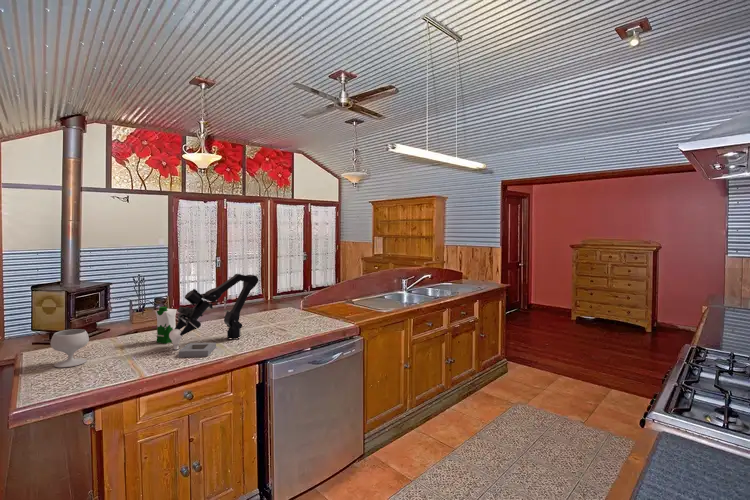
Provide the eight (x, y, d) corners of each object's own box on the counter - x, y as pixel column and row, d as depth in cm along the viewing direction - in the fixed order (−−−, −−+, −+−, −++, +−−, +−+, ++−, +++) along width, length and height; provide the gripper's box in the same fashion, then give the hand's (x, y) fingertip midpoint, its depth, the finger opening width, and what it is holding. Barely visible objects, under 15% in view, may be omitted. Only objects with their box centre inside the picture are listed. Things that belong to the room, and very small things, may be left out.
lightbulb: (172, 347, 205) (172, 327, 204) (184, 347, 205) (184, 327, 205) (167, 351, 198) (166, 330, 198) (179, 351, 199) (179, 330, 198)
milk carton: (153, 342, 213) (153, 307, 212) (167, 338, 222) (167, 304, 221) (166, 344, 211) (165, 308, 210) (179, 340, 219) (178, 305, 218)
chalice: (69, 370, 171) (68, 337, 170) (43, 368, 173) (41, 335, 173) (96, 359, 185) (96, 329, 184) (72, 358, 187) (71, 327, 186)
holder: (216, 348, 205) (216, 342, 205) (208, 356, 191) (208, 350, 191) (188, 348, 203) (188, 343, 203) (178, 357, 190) (178, 351, 189)
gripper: (181, 298, 211) (159, 321, 204) (194, 303, 199) (171, 327, 191) (196, 310, 217) (175, 333, 210) (209, 316, 205) (188, 340, 197)
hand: (177, 333), depth 202 cm, fingers open, 9 cm apart
